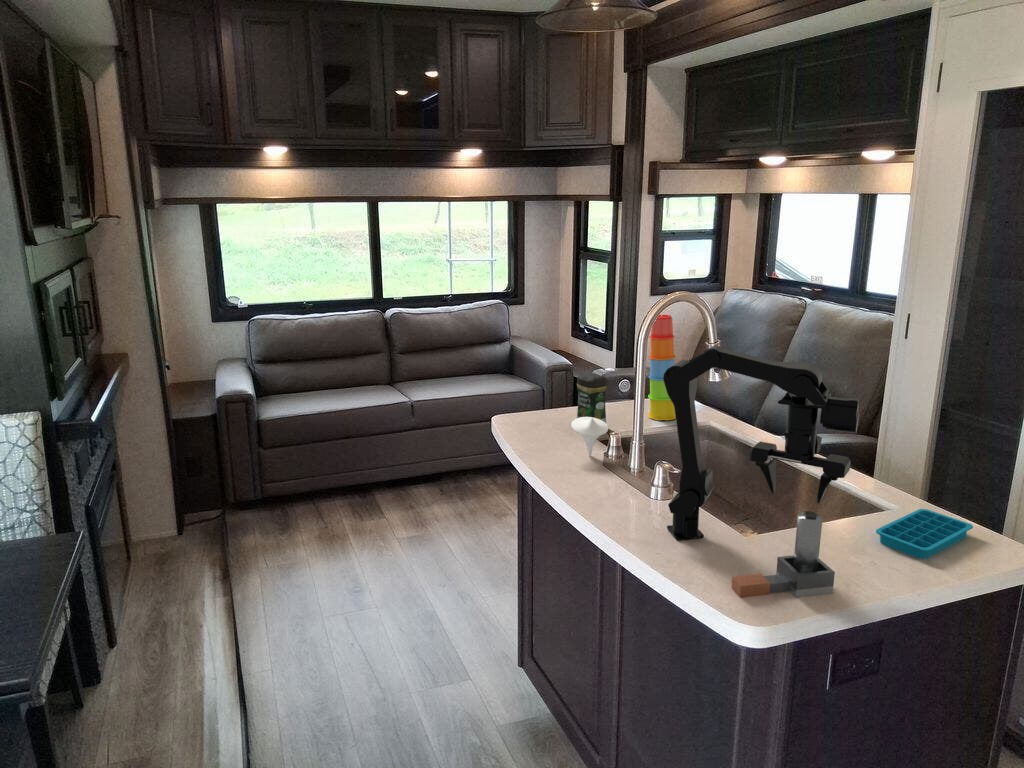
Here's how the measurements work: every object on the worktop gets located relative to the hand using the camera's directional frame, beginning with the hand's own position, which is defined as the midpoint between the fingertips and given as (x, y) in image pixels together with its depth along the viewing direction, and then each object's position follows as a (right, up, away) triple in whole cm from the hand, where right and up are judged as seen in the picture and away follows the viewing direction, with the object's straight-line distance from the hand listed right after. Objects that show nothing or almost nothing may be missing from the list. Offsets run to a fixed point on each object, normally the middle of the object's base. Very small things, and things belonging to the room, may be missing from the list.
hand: (795, 497), depth 155 cm
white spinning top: (-36, +2, +63) cm, 73 cm away
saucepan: (-7, -16, -10) cm, 20 cm away
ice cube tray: (+31, -11, +9) cm, 34 cm away
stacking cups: (-8, +12, +98) cm, 99 cm away
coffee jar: (-33, +9, +87) cm, 94 cm away
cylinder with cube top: (-2, -14, -9) cm, 17 cm away
